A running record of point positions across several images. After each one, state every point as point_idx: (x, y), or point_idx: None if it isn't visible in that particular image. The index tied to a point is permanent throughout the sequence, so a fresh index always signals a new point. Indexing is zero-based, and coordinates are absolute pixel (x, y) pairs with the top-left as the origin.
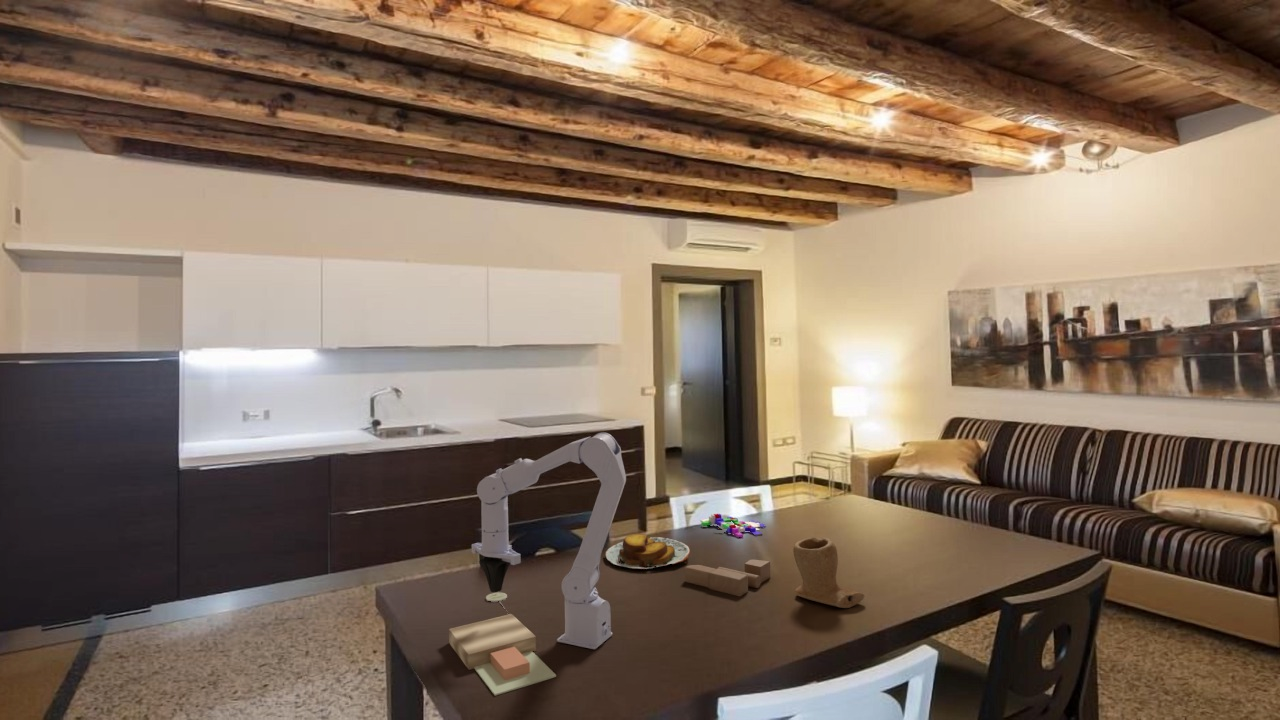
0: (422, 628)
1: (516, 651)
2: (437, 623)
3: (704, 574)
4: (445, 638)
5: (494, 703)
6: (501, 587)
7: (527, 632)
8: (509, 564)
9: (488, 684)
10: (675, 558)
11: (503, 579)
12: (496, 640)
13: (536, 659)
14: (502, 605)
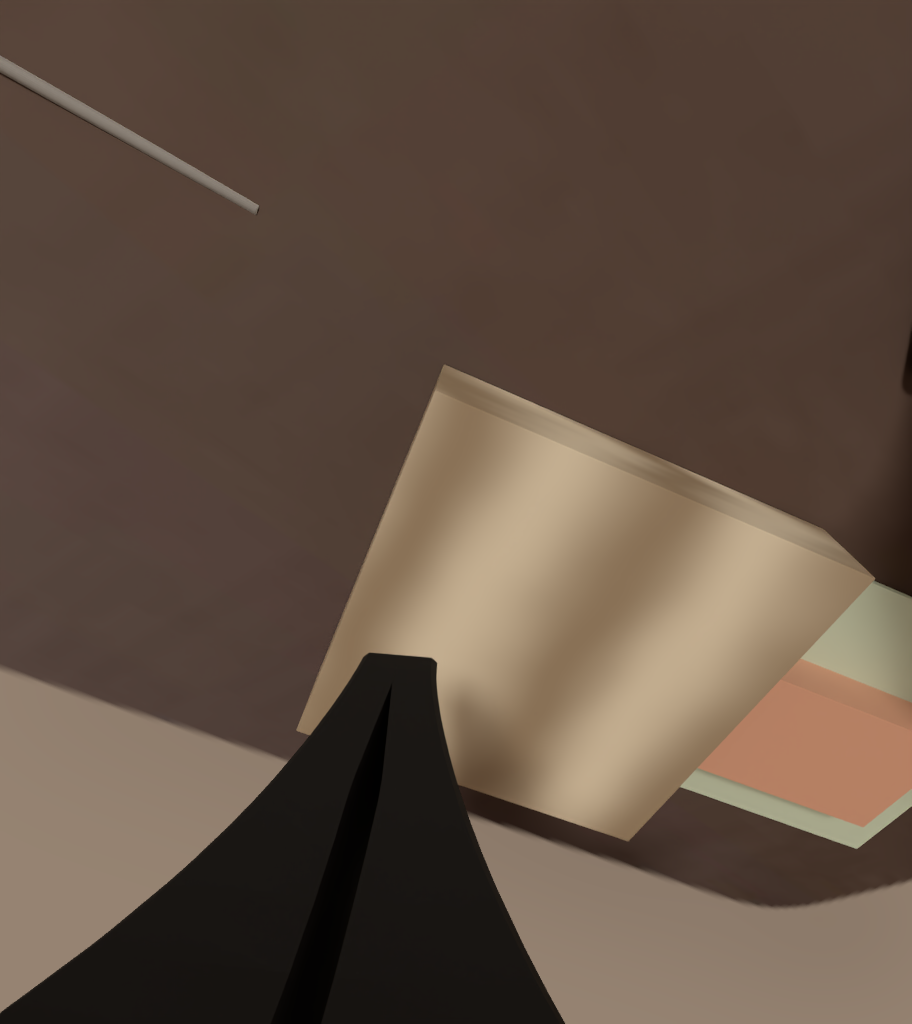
0: (49, 634)
1: (820, 706)
2: (34, 562)
3: None
4: (254, 650)
5: (880, 865)
6: (435, 683)
7: (781, 563)
8: (549, 1006)
9: (786, 820)
10: None
11: (445, 750)
12: (655, 711)
13: (893, 611)
14: (17, 75)
